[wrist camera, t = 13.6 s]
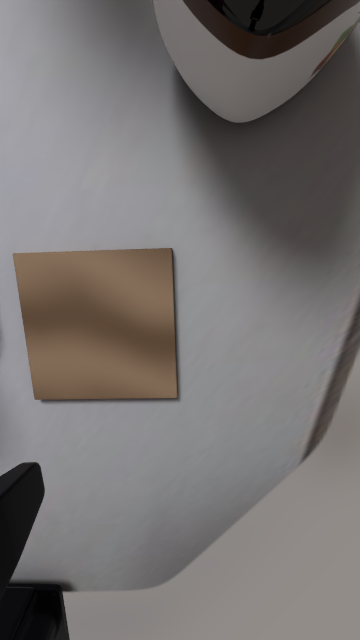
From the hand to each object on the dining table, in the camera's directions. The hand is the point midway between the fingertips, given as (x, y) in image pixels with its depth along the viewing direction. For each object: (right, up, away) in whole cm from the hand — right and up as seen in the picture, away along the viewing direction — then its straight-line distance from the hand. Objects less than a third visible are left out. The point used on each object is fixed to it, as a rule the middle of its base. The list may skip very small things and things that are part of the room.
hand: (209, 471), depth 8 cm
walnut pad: (-6, +3, +12) cm, 14 cm away
